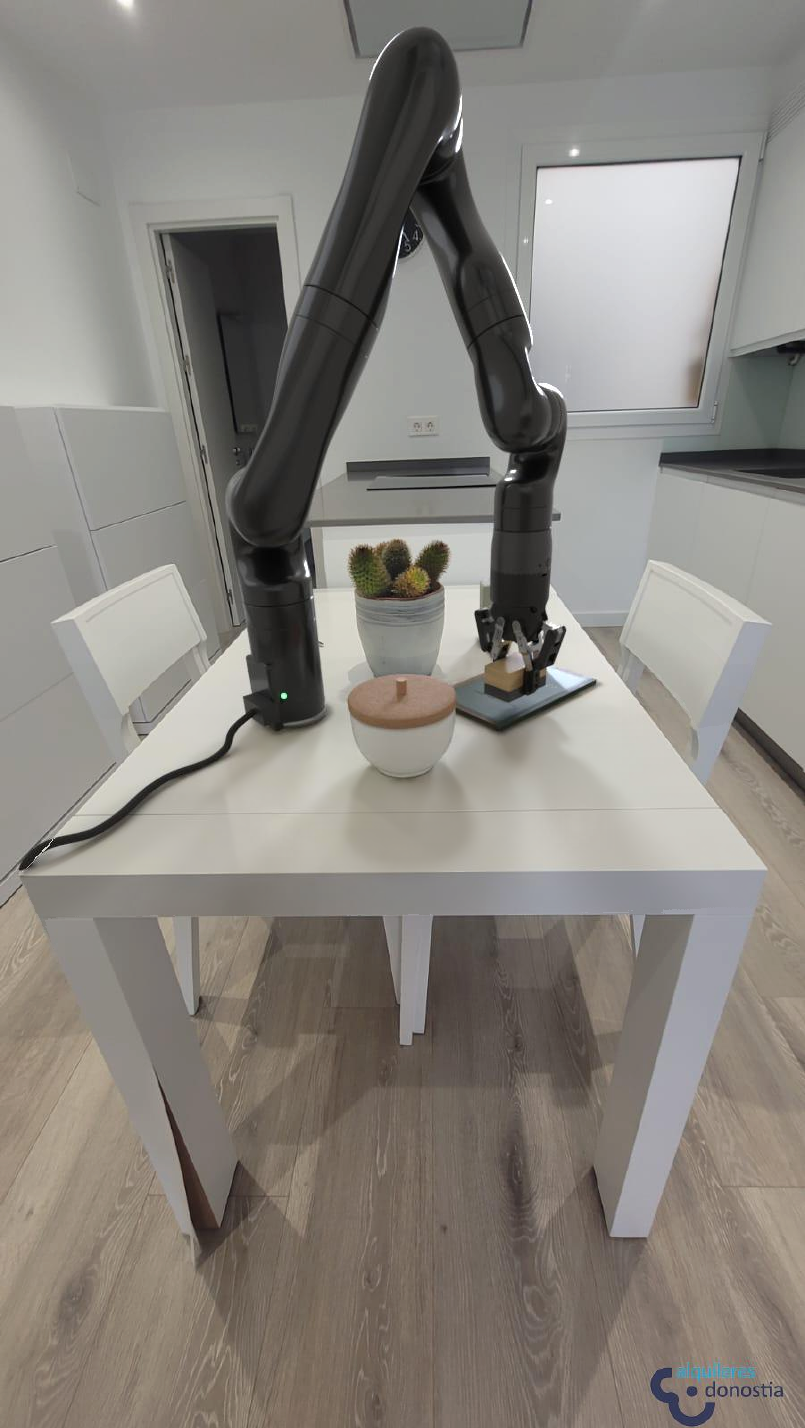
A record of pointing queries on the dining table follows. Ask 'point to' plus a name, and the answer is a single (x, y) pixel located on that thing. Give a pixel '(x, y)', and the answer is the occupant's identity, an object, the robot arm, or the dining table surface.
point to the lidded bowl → (403, 722)
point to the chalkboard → (509, 714)
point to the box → (485, 595)
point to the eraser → (507, 678)
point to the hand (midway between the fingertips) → (515, 687)
